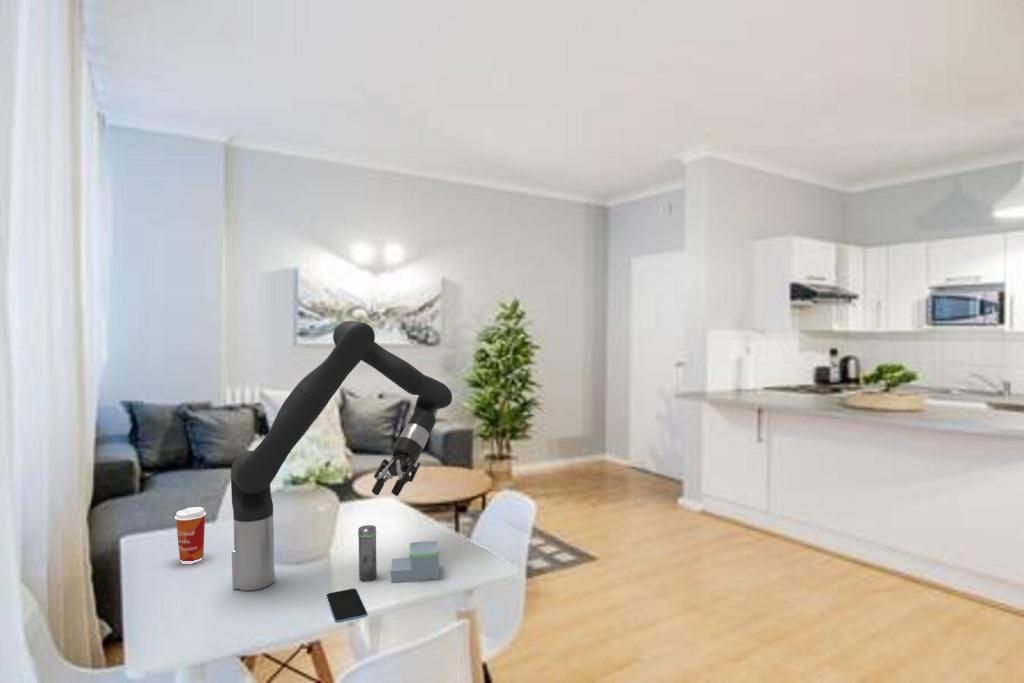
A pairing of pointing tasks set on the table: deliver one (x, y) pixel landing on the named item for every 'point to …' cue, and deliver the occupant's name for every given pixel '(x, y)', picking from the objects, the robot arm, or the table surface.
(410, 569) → the blue-grey stepped block
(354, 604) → the smartphone
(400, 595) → the table surface
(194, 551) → the paper cup
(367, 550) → the steel thermos flask
